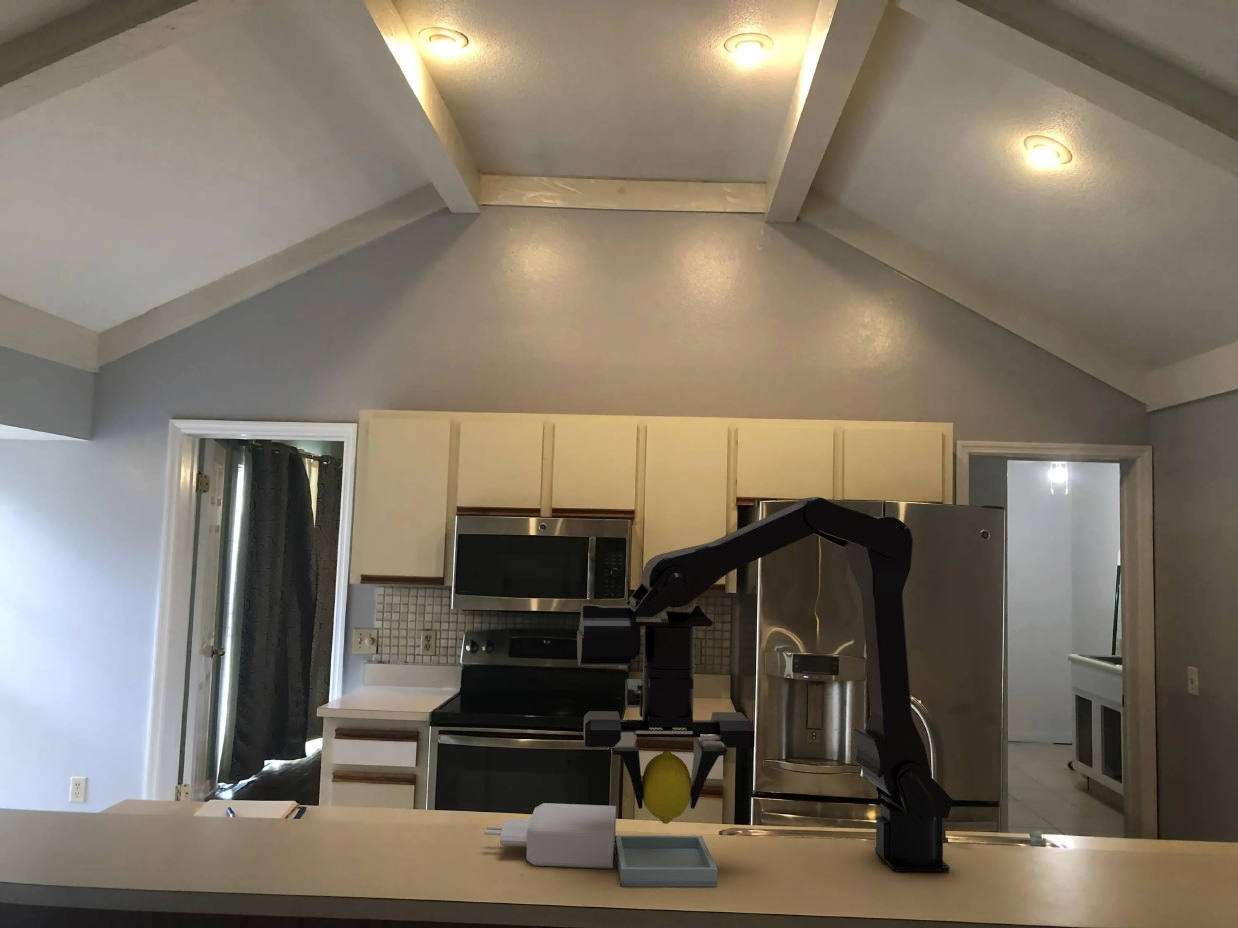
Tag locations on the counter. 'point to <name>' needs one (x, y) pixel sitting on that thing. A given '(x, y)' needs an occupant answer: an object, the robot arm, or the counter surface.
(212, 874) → the counter surface
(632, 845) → the tray
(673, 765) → the lemon
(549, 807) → the charger
